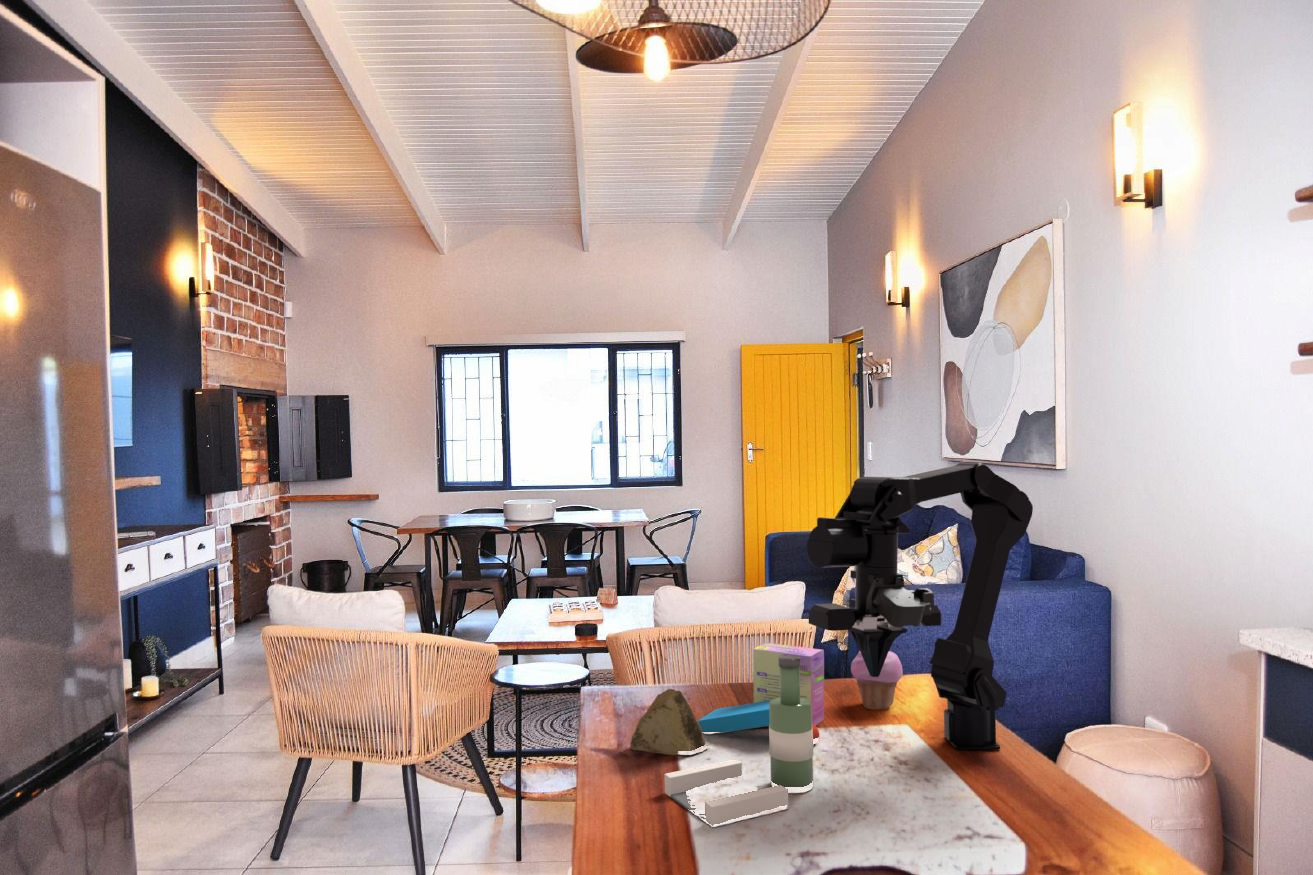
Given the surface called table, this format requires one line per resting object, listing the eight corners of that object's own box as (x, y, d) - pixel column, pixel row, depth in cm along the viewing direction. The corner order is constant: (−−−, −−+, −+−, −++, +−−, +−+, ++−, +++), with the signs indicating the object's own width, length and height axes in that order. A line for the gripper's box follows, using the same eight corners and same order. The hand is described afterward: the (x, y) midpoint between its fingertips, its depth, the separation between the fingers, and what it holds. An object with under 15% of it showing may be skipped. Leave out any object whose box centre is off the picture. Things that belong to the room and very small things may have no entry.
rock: (610, 738, 131) (657, 743, 124) (630, 684, 136) (677, 687, 129) (656, 767, 137) (703, 774, 130) (673, 714, 141) (720, 718, 134)
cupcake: (849, 698, 157) (848, 642, 157) (899, 699, 156) (898, 643, 156) (853, 713, 148) (852, 654, 149) (906, 715, 147) (905, 655, 147)
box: (825, 720, 145) (824, 648, 145) (812, 730, 141) (810, 655, 141) (768, 710, 151) (766, 641, 151) (753, 720, 146) (752, 648, 146)
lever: (709, 765, 139) (813, 751, 130) (697, 720, 140) (800, 704, 131) (727, 751, 145) (828, 737, 136) (716, 709, 146) (816, 692, 137)
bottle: (810, 777, 121) (808, 652, 121) (817, 793, 115) (814, 663, 115) (768, 777, 121) (765, 653, 121) (772, 794, 115) (769, 663, 115)
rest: (735, 777, 121) (735, 759, 121) (788, 809, 110) (787, 789, 110) (664, 793, 116) (664, 773, 116) (712, 828, 105) (712, 807, 105)
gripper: (851, 574, 114) (849, 695, 114) (968, 571, 121) (967, 686, 120) (807, 564, 124) (805, 675, 124) (917, 562, 131) (915, 667, 131)
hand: (874, 676), depth 124 cm, fingers closed
